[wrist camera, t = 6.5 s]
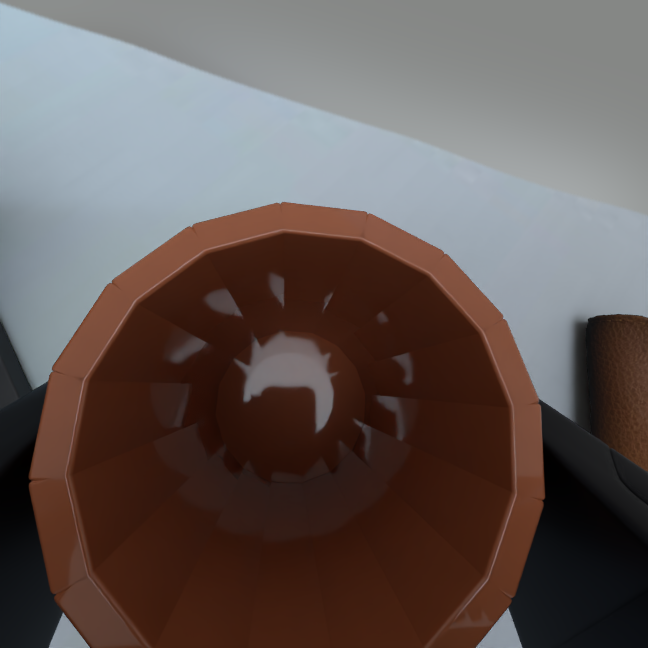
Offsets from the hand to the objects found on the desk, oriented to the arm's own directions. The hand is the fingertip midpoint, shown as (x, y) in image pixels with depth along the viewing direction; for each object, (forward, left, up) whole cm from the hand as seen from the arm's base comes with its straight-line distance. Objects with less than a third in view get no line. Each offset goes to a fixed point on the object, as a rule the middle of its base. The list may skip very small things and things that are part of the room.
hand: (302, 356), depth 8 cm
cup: (-1, +1, -7) cm, 7 cm away
